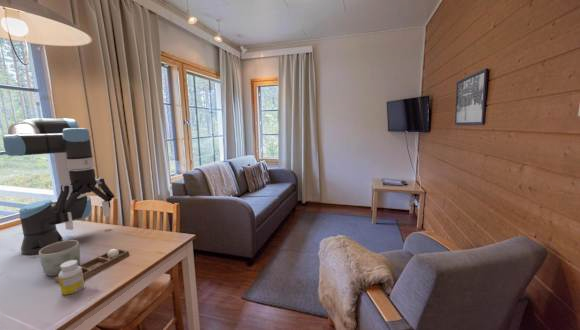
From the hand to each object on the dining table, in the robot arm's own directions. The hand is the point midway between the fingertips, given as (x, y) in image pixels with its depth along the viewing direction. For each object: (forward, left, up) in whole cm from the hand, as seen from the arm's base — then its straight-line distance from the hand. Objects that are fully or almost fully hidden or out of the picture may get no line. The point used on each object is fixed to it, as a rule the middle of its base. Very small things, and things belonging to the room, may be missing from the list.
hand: (89, 222), depth 96 cm
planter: (-19, -1, -24) cm, 31 cm away
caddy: (-7, +4, -24) cm, 25 cm away
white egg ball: (-7, +12, -23) cm, 27 cm away
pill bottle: (+1, -9, -24) cm, 26 cm away
